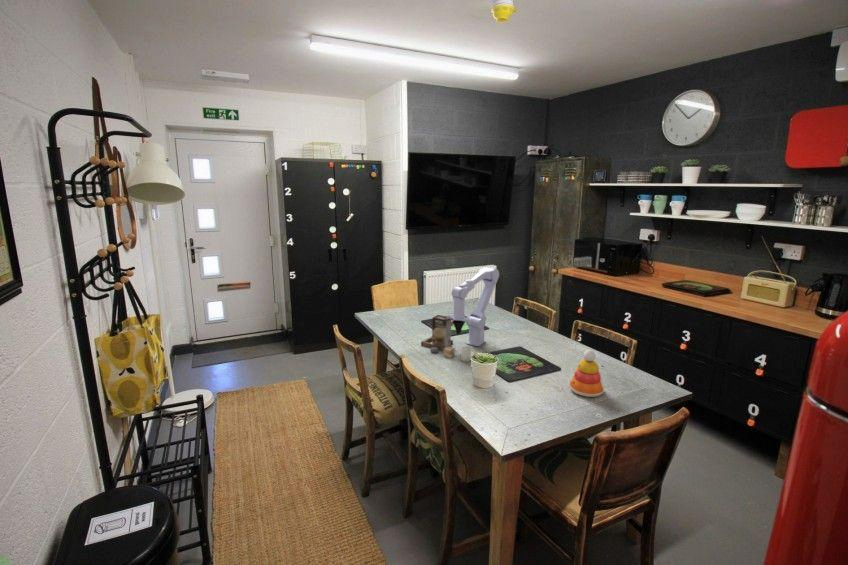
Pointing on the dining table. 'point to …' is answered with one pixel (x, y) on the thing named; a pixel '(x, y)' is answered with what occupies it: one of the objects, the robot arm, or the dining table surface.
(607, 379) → the dining table surface
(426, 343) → the walnut bay
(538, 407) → the dining table surface
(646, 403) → the dining table surface
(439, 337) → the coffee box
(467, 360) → the pale grey rounded cylinder
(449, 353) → the oak block
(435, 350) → the rubber puck
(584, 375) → the stacking toy
